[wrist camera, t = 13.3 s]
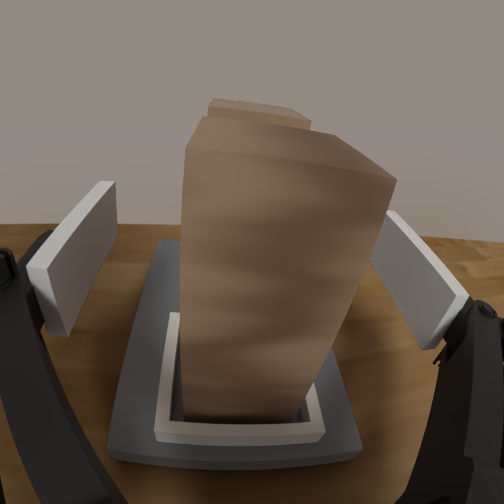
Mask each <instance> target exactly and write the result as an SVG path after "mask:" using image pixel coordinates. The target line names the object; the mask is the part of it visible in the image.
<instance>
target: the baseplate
mask: <svg viewBox="0 0 504 504" xmlns="http://www.w3.org/2000/svg"><path fill="white" fill-rule="evenodd" d="M207 117H217V118H227V119H236V120H245V121H253V122H260V123H268V124H274V125H281V126H287V127H293V128H299V129H305V130H310V125H311V120H310V119H308V118H306V117H305V116H303V115H301V114H300V113H298V112H296V111H294V110H293V109H289V108H284V107H278V106H271V105H265V104H257V103H250V102H241V101H233V100H224V99H213V100H212V101H211V103H210V105H209V108H208V116H207ZM180 242H181V241H179V240H167V239H159V241H158V244H157V247H156V250H155V253H154V256H153V259H152V262H151V265H150V269H149V272H148V275H147V278H146V281H145V285H144V288H143V291H142V295H141V298H140V301H139V305H138V308H137V312H136V315H135V319H134V323H133V326H132V330H131V334H130V338H129V341H128V345H127V349H126V353H125V357H124V361H123V365H122V370H121V374H120V378H119V383H118V387H117V392H116V397H115V401H114V406H113V411H112V416H111V422H110V427H109V432H108V438H107V444H106V450H107V451H108V452H109V454H110V455H111V457H112V458H113V459H116V460H122V461H128V462H134V463H140V464H148V465H155V466H164V467H174V468H186V469H202V470H266V469H282V468H294V467H304V466H313V465H321V464H328V463H335V462H341V461H347V460H352V459H353V458H354V457H355V456H356V455H358V454H359V453H360V452H361V451H362V450H363V445H362V442H361V438H360V435H359V432H358V428H357V425H356V421H355V418H354V415H353V411H352V408H351V405H350V401H349V398H348V395H347V392H346V388H345V385H344V382H343V379H342V376H341V373H340V369H339V366H338V363H337V360H336V357H335V354H334V351H333V348H332V346H331V349H330V351H329V353H328V355H327V357H326V359H325V361H324V363H323V365H322V367H321V369H320V371H319V373H318V375H317V376H316V378H315V380H314V382H313V384H312V386H311V388H310V390H309V392H308V393H307V395H306V397H305V399H304V401H303V403H302V404H301V406H300V408H299V410H298V412H297V413H296V415H295V417H294V419H293V420H292V422H291V423H288V424H255V425H239V424H206V423H190V422H184V413H183V397H182V378H181V352H180Z"/></svg>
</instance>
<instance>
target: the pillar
mask: <svg viewBox="0 0 504 504" xmlns="http://www.w3.org/2000/svg"><path fill="white" fill-rule="evenodd" d="M396 181H397V179H396V178H394V177H393V176H392V175H390V174H389V173H388V172H386V171H385V170H384V169H382V168H381V167H380V166H378V165H377V164H376V163H374V162H373V161H371V160H370V159H369V158H367V157H366V156H364V155H363V154H361V153H360V152H359V151H357V150H356V149H354V148H353V147H351V146H350V145H348V144H347V143H345V142H344V141H343V140H341V139H339V138H338V137H336V136H335V135H331V134H325V133H320V132H315V131H310V130H305V129H299V128H293V127H287V126H281V125H274V124H268V123H260V122H253V121H245V120H236V119H227V118H217V117H205V116H203V117H202V119H201V121H200V122H199V124H198V126H197V128H196V130H195V132H194V134H193V135H192V137H191V139H190V141H189V143H188V145H187V147H186V151H185V165H184V179H183V196H182V215H181V242H180V352H181V378H182V397H183V413H184V422H190V423H206V424H239V425H255V424H288V423H291V422H292V420H293V419H294V417H295V415H296V413H297V412H298V410H299V408H300V406H301V404H302V403H303V401H304V399H305V397H306V395H307V393H308V392H309V390H310V388H311V386H312V384H313V382H314V380H315V378H316V376H317V375H318V373H319V371H320V369H321V367H322V365H323V363H324V361H325V359H326V357H327V355H328V353H329V351H330V349H331V346H332V344H333V342H334V340H335V338H336V336H337V334H338V332H339V330H340V327H341V325H342V323H343V321H344V319H345V316H346V314H347V312H348V310H349V307H350V305H351V303H352V300H353V298H354V296H355V293H356V291H357V289H358V286H359V284H360V282H361V279H362V277H363V274H364V272H365V269H366V267H367V264H368V262H369V259H370V256H371V254H372V251H373V249H374V246H375V243H376V241H377V238H378V235H379V232H380V230H381V227H382V224H383V221H384V218H385V215H386V212H387V209H388V206H389V203H390V200H391V197H392V194H393V191H394V187H395V184H396Z"/></svg>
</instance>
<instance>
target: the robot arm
mask: <svg viewBox="0 0 504 504" xmlns="http://www.w3.org/2000/svg"><path fill="white" fill-rule="evenodd" d="M117 236H118V226H117V210H116V188H115V181H99V182H98V183H97V184H96V185H95V186H94V187H93V188H92V189H91V190H90V192H88V194H87V195H86V196H85V197H84V198H83V199H82V200H81V201H80V202H79V203H78V204H77V205H76V206H75V207H74V209H73V210H72V211H71V212H70V213H69V214H68V215H67V216H66V217H65V219H64V220H63V221H62V222H61V223H60V224H59V226H58V227H57V228H56V229H55V230H48V231H47V232H45V233H43V234H42V235H40V236H39V237H38V238H37V239H36V241H35V242H34V243H33V245H32V246H31V247H30V248H29V249H28V250H27V252H26V253H25V254H24V255H23V256H22V258H21V259H20V260H19V261H18V263H17V264H16V262H15V259H14V255H13V253H12V251H11V250H10V249H8V248H0V395H1V399H2V403H3V406H4V410H5V413H6V417H7V420H8V423H9V426H10V429H11V432H12V435H13V438H14V441H15V444H16V447H17V449H18V452H19V455H20V457H21V460H22V462H23V465H24V467H25V470H26V472H27V474H28V476H29V479H30V481H31V483H32V485H33V487H34V490H35V492H36V494H37V496H38V498H39V500H40V502H41V504H128V502H127V501H126V500H125V498H124V497H123V495H122V494H121V493H120V491H119V490H118V488H117V487H116V485H115V484H114V482H113V481H112V479H111V478H110V476H109V475H108V473H107V472H106V470H105V468H104V467H103V465H102V463H101V462H100V460H99V459H98V457H97V455H96V453H95V452H94V450H93V448H92V447H91V445H90V443H89V441H88V439H87V438H86V436H85V434H84V432H83V430H82V428H81V426H80V424H79V422H78V420H77V418H76V416H75V414H74V412H73V410H72V408H71V406H70V404H69V402H68V400H67V398H66V395H65V393H64V391H63V389H62V386H61V384H60V382H59V379H58V377H57V374H56V372H55V369H54V367H53V364H52V362H51V359H50V356H49V354H48V351H47V348H46V345H45V342H44V339H43V337H42V334H41V332H40V330H41V328H42V326H43V324H44V322H45V325H46V327H47V330H48V332H49V334H51V335H56V336H61V337H67V338H68V337H69V335H70V333H71V330H72V328H73V326H74V323H75V321H76V319H77V316H78V314H79V312H80V310H81V308H82V305H83V303H84V301H85V299H86V297H87V295H88V293H89V291H90V288H91V286H92V284H93V282H94V280H95V278H96V276H97V274H98V272H99V270H100V268H101V266H102V264H103V262H104V261H105V259H106V257H107V255H108V253H109V251H110V249H111V247H112V245H113V244H114V242H115V240H116V238H117ZM369 261H370V263H371V265H372V266H373V268H374V269H375V271H376V272H377V274H378V276H379V277H380V279H381V280H382V282H383V284H384V285H385V287H386V289H387V290H388V292H389V294H390V295H391V297H392V299H393V300H394V302H395V304H396V305H397V307H398V309H399V310H400V312H401V314H402V316H403V317H404V319H405V321H406V323H407V324H408V326H409V328H410V330H411V331H412V333H413V335H414V337H415V339H416V341H417V342H418V344H419V346H420V348H421V350H428V349H435V348H436V347H437V345H438V344H439V343H440V341H441V340H442V338H444V340H445V341H446V343H447V344H446V345H445V346H444V348H443V349H442V351H441V352H440V353H439V355H438V356H437V357H436V359H435V360H434V362H433V364H434V365H435V364H436V362H437V361H439V360H440V364H439V365H438V367H439V372H438V377H437V382H436V387H435V392H434V397H433V401H432V406H431V410H430V414H429V418H428V422H427V426H426V429H425V433H424V436H423V440H422V443H421V447H420V450H419V453H418V456H417V459H416V462H415V465H414V468H413V471H412V474H411V477H410V479H409V482H408V485H407V487H406V489H405V491H404V493H403V494H402V496H401V497H400V498H399V499H398V500H397V501H396V502H395V503H394V504H504V364H503V362H504V318H500V317H498V316H497V313H496V311H495V310H494V309H493V308H492V307H491V306H490V305H489V304H487V303H486V302H483V301H481V300H476V301H473V299H472V298H471V297H470V296H469V294H468V293H467V292H466V291H465V289H464V288H463V287H462V286H461V284H460V283H459V282H458V281H457V279H456V278H455V277H454V276H453V275H452V273H451V272H450V271H449V270H448V269H447V268H446V266H445V265H444V264H443V263H442V262H441V261H440V259H439V258H438V257H437V256H436V255H435V254H434V253H433V252H432V250H431V249H430V248H429V247H428V246H427V245H426V244H425V243H424V242H423V241H422V239H421V238H420V237H419V236H418V235H417V234H416V233H415V232H414V231H413V230H412V229H411V228H410V227H409V226H408V225H407V224H406V223H405V221H404V220H403V219H401V218H400V216H399V215H398V214H397V213H396V212H395V211H389V210H387V212H386V215H385V218H384V221H383V224H382V227H381V230H380V232H379V235H378V238H377V241H376V243H375V246H374V249H373V251H372V254H371V256H370V259H369ZM0 504H6V503H5V498H4V494H3V489H2V483H1V478H0Z"/></svg>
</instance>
